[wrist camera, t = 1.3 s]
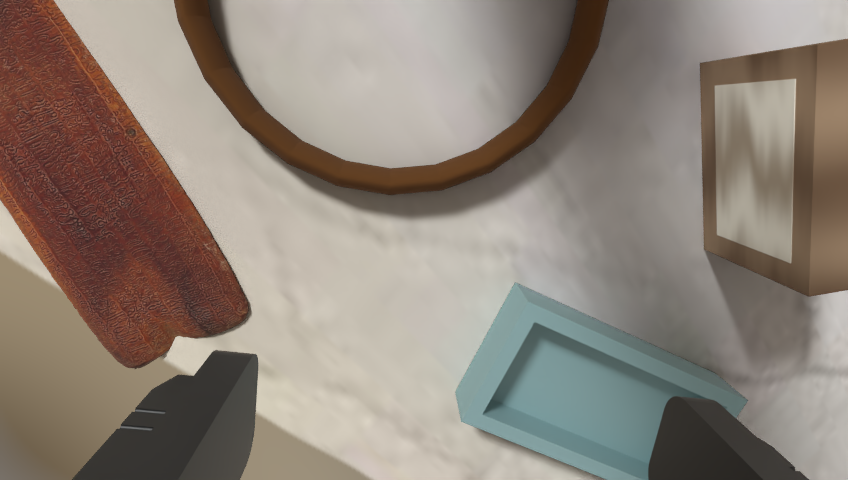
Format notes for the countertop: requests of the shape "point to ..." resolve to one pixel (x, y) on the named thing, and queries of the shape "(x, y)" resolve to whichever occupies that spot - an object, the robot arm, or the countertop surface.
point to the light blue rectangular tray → (578, 387)
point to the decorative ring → (374, 178)
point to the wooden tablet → (102, 196)
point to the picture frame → (778, 164)
